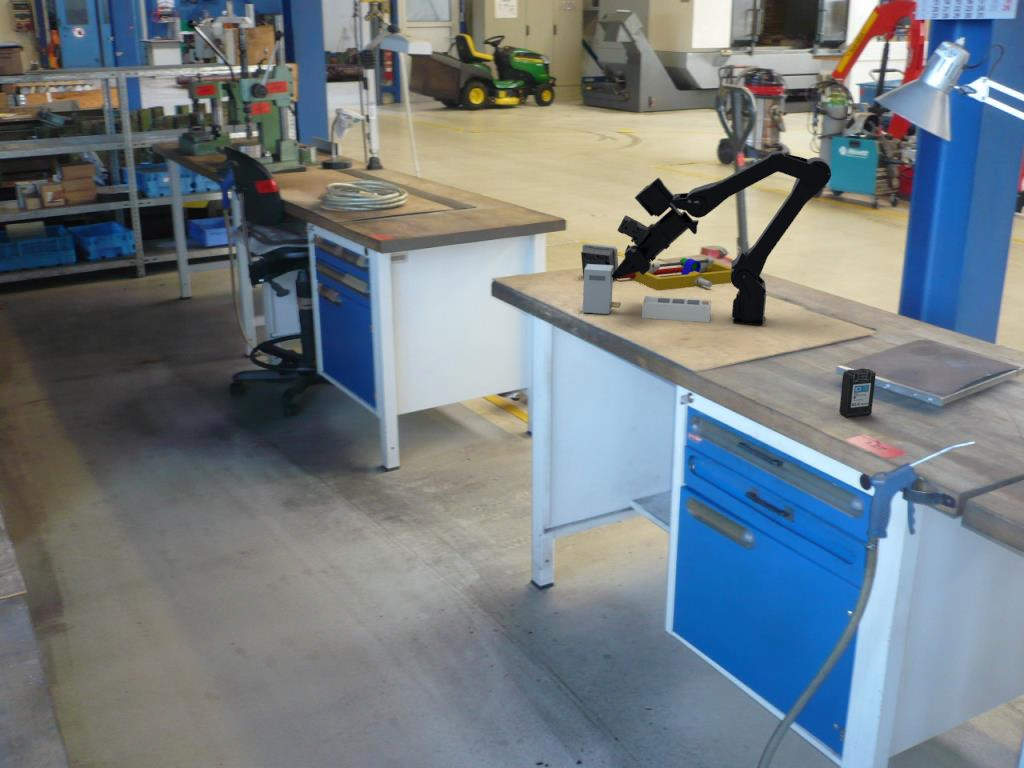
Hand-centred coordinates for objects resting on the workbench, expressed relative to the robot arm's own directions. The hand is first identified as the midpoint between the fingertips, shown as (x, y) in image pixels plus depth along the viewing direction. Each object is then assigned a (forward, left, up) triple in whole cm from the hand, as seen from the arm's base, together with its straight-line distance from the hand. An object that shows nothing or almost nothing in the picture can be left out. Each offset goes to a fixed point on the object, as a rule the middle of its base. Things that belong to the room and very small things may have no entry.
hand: (613, 277), depth 242 cm
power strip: (-14, -7, -8) cm, 18 cm away
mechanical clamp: (-10, -35, -9) cm, 37 cm away
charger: (+2, 0, -8) cm, 8 cm away
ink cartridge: (-56, +49, -8) cm, 74 cm away
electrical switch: (+11, -29, -8) cm, 33 cm away
